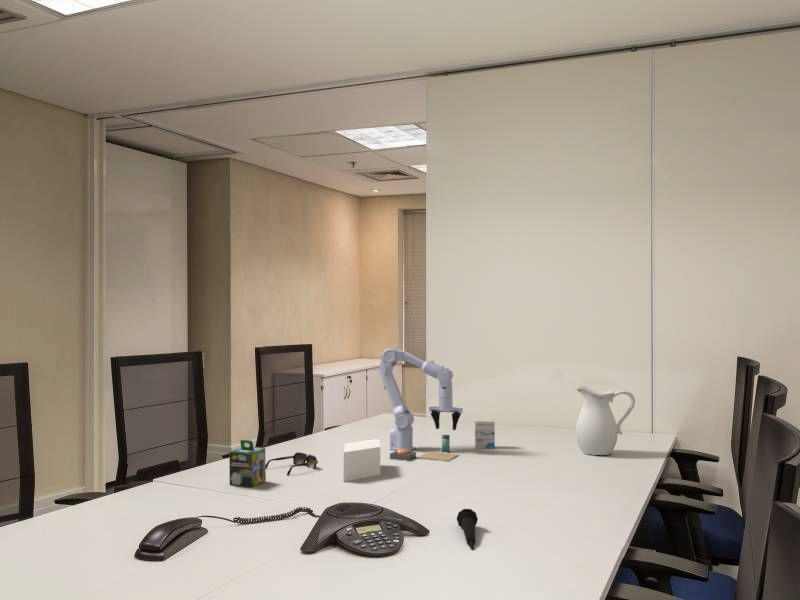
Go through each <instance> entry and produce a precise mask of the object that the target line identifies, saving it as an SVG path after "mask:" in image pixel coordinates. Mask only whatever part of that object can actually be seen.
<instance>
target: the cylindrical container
mask: <svg viewBox="0 0 800 600" xmlns="http://www.w3.org/2000/svg"><path fill="white" fill-rule="evenodd" d="M450 441H451V440H450V434H442V435H441V453H444V452H448V453H450V445H451V444H450V443H451V442H450Z"/></svg>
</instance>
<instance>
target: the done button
mask: <svg viewBox="0 0 800 600" xmlns="http://www.w3.org/2000/svg"><path fill="white" fill-rule="evenodd" d="M396 451H397V454H405V455H407V454H409V449H397V450H396Z"/></svg>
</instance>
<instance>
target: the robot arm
mask: <svg viewBox="0 0 800 600" xmlns="http://www.w3.org/2000/svg"><path fill="white" fill-rule="evenodd" d="M381 353H382V354H381V355H380V364H379V371H378V372H379V374H380V376H381V379H382V382H383V383H384V386H385V390H386V392H387V395H388V397H389V399H390V400H389V401H390V403H391V404H392V407H393V416H394V425H395V426H396V427H392V428H391V429H390V433H389V448H388V450H394V451H397V449H409V451H412V450H413V451H414V449H417V447H416V446H413V445H414V444H413V438H414V437H413V432H414V431H413V430H414V429H413V426H412V425H413V423H414V420H415V418H414V414H413V413H411V411H410V410H409V407H408V406H407V405H406V404H405V402H404V401H405V400H404V398H403V396H402V393H401V391H400V389H399V385H398V383H397V381H396V377H395V376H394V373H393V370H394V368H395V366H396V365H397V363H398V362H406V363H409V364H411V365H413V366H415V367H417V368H420V369H421V371H422V373H423V374H426V375H428V376H429V377H432V378H434V379H437V381H438V406H429V408H428V409H429V410H428V411H429V413H430V416H431V418H432V420H433V422H434V426H435V430H439V429H440V416H441V413H451V418H452V431H456V430H457V427H458V422H459V419H460V417H461V415H462V414H463V412H464V411H463V408H462V407H453V378H454V373H453V371H452V370H451V369H450V368H448V367H447V368H446V367H445V366H444V365H439V364H437V363H435V361H434V360H426V361H424V360H422V359H421V358H418V357H417V356H415V355H413V354H411V353H410V352H407V351H405V350H403V349H399V348H397V347H391V348H386V349H384V351H383V352H381Z"/></svg>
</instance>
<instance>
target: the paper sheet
mask: <svg viewBox="0 0 800 600" xmlns="http://www.w3.org/2000/svg"><path fill="white" fill-rule="evenodd" d="M458 455H459V456H460V454H459V453H450V452H448V453H444V452H438V451H437V452H436V451H428V452H426V453H424V454H422V455H419V456H417V459H420V458H424V459H423V460H430V459H433V460H432V461H439V460H443V461H442V462H450V461H452V460H453V459H455V458H457V457H458ZM456 456H457V457H456ZM451 459H452V460H451ZM449 460H450V461H449Z"/></svg>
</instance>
